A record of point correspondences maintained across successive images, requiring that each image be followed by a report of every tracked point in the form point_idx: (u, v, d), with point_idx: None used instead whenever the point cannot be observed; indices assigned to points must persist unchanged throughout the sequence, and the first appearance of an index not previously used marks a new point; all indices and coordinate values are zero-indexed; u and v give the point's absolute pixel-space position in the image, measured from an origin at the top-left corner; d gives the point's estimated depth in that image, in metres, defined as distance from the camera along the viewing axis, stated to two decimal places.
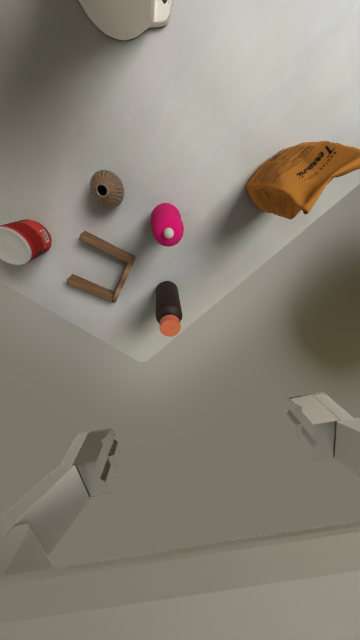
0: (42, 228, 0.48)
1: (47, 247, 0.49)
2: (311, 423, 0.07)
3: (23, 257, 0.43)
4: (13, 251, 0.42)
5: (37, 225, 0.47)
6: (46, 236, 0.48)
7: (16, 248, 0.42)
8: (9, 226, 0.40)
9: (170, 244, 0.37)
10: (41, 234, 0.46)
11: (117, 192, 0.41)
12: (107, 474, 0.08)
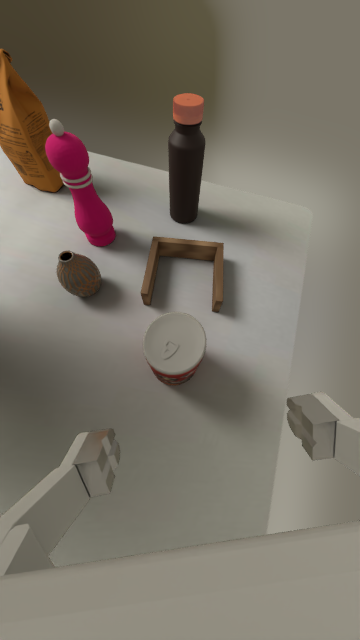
0: None
1: None
2: (311, 423, 0.07)
3: (185, 321, 0.25)
4: (181, 336, 0.24)
5: None
6: None
7: (173, 332, 0.24)
8: None
9: (78, 138, 0.30)
10: None
11: None
12: (107, 474, 0.08)
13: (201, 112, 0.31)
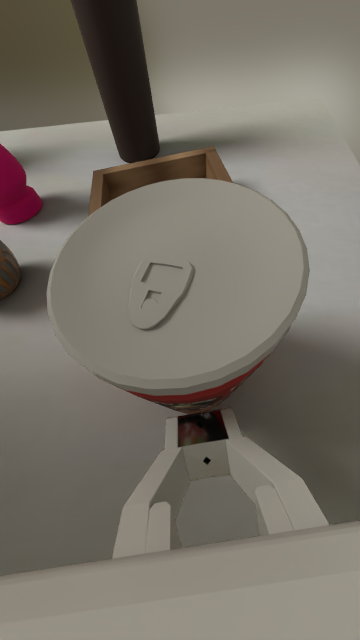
0: None
1: None
2: (203, 441, 0.07)
3: (191, 199, 0.07)
4: (190, 239, 0.06)
5: None
6: None
7: (160, 235, 0.07)
8: None
9: None
10: None
11: None
12: (205, 458, 0.08)
13: None
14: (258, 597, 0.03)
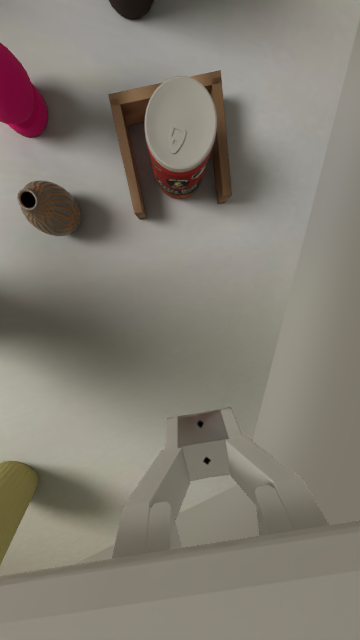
0: None
1: None
2: (203, 441, 0.07)
3: (189, 92, 0.20)
4: (186, 117, 0.20)
5: None
6: None
7: (177, 113, 0.20)
8: (148, 148, 0.22)
9: None
10: None
11: (26, 185, 0.25)
12: (205, 458, 0.08)
13: None
14: (258, 597, 0.03)
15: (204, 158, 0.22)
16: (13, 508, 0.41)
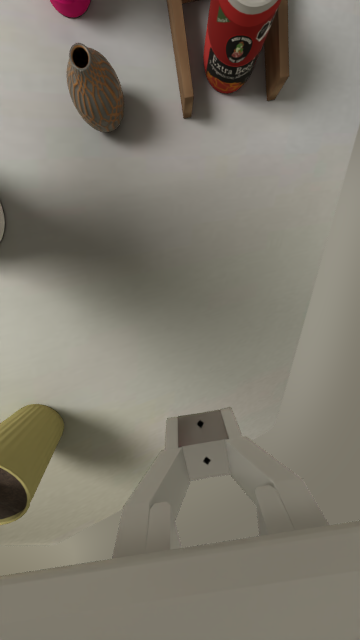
0: None
1: None
2: (203, 441, 0.07)
3: None
4: None
5: (205, 40, 0.27)
6: None
7: None
8: None
9: None
10: None
11: (75, 50, 0.23)
12: (205, 458, 0.08)
13: None
14: (258, 597, 0.03)
15: None
16: (43, 443, 0.38)
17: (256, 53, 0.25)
